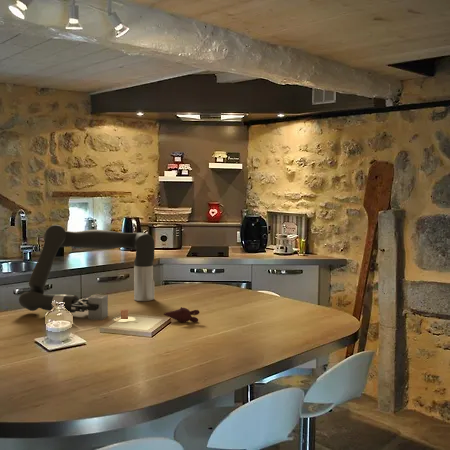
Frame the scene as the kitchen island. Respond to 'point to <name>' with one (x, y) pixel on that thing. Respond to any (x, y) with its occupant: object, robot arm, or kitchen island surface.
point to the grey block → (98, 307)
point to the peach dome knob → (124, 314)
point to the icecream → (183, 315)
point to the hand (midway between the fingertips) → (100, 305)
